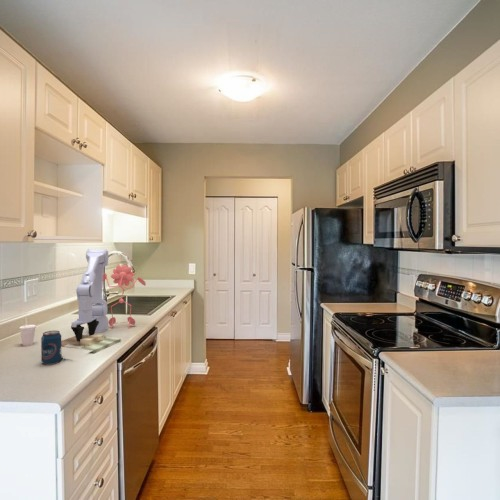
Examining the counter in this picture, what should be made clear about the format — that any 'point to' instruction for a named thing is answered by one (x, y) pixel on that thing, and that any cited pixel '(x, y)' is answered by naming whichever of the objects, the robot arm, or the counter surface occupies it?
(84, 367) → the counter surface
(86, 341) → the block
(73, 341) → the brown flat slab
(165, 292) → the counter surface
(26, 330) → the smoothie
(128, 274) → the figurine
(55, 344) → the soda can
